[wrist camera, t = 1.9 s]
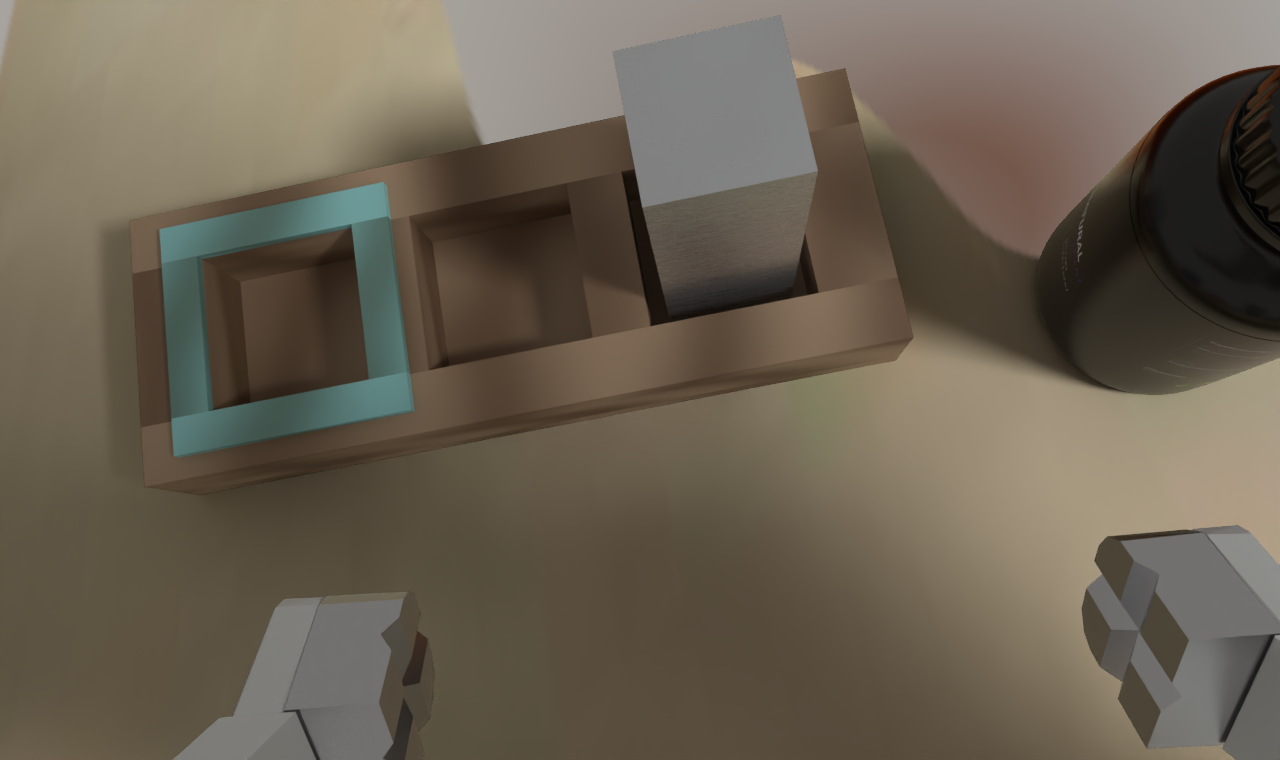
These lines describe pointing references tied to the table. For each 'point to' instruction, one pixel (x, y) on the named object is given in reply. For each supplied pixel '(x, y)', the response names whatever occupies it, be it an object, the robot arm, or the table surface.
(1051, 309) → the supplement bottle
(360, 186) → the wooden compartment tray
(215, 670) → the table surface
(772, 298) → the steel peg
